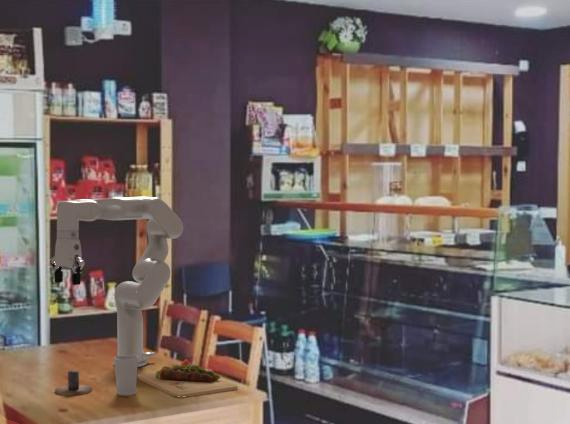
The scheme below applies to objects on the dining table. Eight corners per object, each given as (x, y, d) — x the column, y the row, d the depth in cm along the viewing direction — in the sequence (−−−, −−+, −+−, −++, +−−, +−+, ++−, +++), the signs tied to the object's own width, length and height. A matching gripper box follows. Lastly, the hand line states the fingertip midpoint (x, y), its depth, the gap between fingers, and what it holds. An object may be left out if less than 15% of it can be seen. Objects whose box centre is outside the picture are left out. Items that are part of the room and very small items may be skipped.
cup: (142, 391, 309) (142, 355, 308) (131, 396, 302) (130, 360, 301) (121, 389, 312) (121, 354, 311) (109, 394, 304) (109, 359, 304)
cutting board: (135, 379, 329) (134, 358, 329) (193, 371, 342) (193, 351, 341) (177, 400, 300) (177, 377, 299) (240, 390, 312) (240, 368, 312)
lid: (84, 386, 318) (84, 365, 317) (97, 393, 307) (96, 372, 307) (50, 390, 311) (50, 370, 311) (62, 398, 301) (61, 377, 301)
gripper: (92, 236, 325) (91, 284, 326) (60, 234, 336) (60, 280, 337) (75, 237, 319) (74, 286, 320) (43, 234, 330) (43, 282, 331)
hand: (67, 283), depth 328 cm, fingers open, 9 cm apart
